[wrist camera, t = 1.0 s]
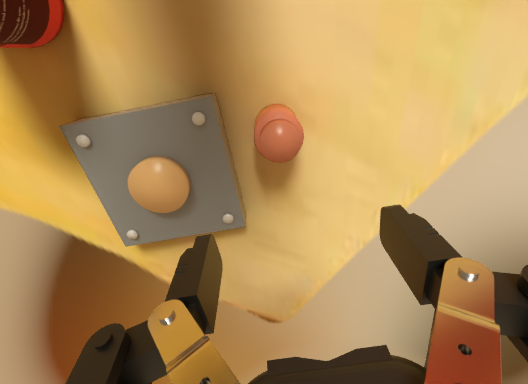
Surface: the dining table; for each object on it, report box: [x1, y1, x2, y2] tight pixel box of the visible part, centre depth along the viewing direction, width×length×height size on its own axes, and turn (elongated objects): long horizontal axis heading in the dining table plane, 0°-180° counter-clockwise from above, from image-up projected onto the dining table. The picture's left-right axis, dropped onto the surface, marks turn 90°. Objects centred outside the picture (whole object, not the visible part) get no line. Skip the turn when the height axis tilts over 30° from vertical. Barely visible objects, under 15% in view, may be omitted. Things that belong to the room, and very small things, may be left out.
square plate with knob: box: [60, 93, 246, 246], centre depth 29 cm, size 15×15×4 cm
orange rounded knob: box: [254, 104, 304, 163], centre depth 26 cm, size 5×5×6 cm
